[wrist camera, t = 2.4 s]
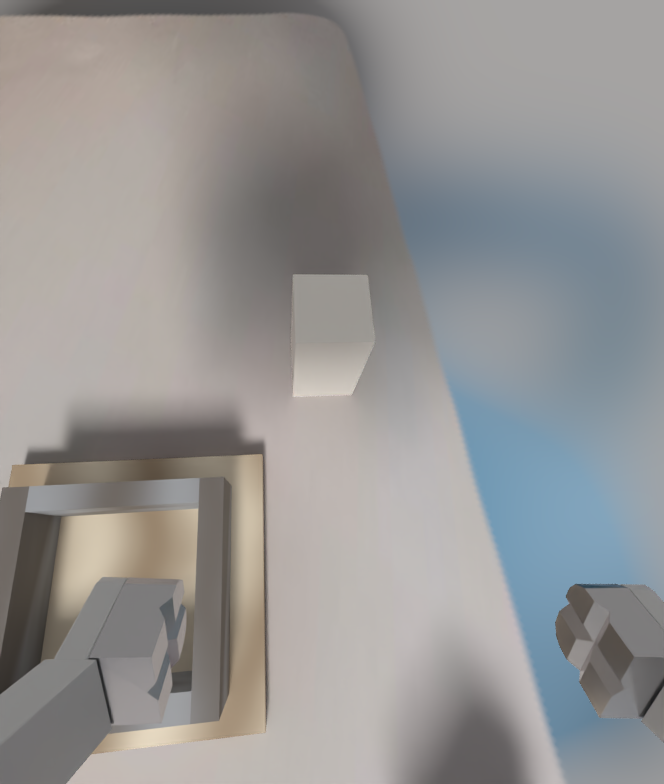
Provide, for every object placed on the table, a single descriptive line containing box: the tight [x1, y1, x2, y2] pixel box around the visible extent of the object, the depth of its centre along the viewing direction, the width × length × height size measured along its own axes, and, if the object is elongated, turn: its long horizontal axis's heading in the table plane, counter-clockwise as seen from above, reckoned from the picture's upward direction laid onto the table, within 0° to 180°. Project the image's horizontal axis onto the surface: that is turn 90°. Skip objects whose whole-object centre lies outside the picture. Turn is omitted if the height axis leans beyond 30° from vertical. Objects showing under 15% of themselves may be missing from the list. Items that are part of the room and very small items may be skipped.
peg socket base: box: [0, 454, 266, 754], centre depth 21 cm, size 14×14×4 cm
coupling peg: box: [291, 274, 375, 397], centre depth 25 cm, size 4×4×8 cm
